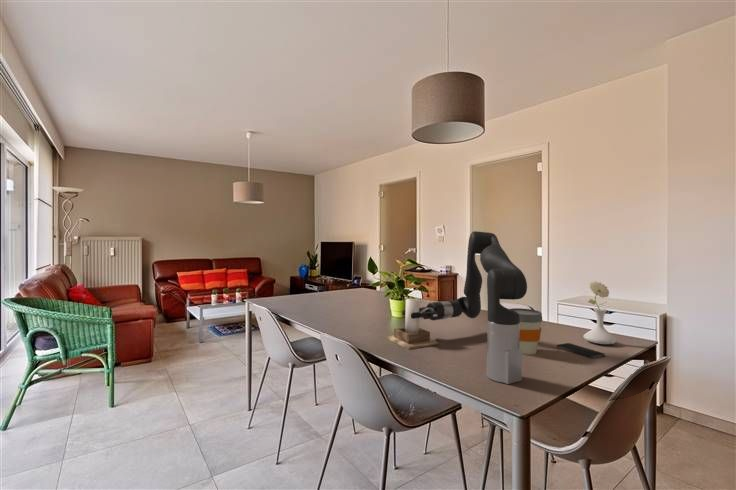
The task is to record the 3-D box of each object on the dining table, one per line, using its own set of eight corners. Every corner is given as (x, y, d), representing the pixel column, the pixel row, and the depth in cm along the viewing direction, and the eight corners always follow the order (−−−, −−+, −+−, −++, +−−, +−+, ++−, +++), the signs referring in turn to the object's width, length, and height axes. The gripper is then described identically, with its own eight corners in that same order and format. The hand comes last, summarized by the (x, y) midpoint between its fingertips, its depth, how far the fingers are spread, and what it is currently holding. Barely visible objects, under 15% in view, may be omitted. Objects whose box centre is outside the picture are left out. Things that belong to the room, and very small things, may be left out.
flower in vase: (623, 347, 143) (624, 284, 142) (593, 346, 143) (595, 283, 143) (602, 337, 156) (603, 280, 155) (575, 337, 156) (576, 279, 156)
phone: (592, 356, 129) (555, 344, 142) (591, 359, 129) (555, 347, 142) (606, 354, 132) (569, 342, 146) (606, 357, 132) (569, 345, 146)
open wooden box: (437, 344, 144) (437, 333, 144) (408, 349, 138) (408, 337, 138) (414, 334, 159) (414, 324, 158) (387, 338, 152) (387, 327, 152)
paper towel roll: (421, 337, 147) (422, 300, 147) (410, 339, 144) (410, 301, 144) (413, 334, 152) (414, 298, 152) (402, 335, 149) (402, 299, 149)
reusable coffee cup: (545, 357, 130) (546, 315, 129) (508, 354, 132) (509, 314, 132) (536, 347, 142) (537, 309, 142) (503, 344, 144) (503, 307, 144)
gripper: (429, 299, 161) (397, 302, 153) (451, 304, 148) (417, 308, 140) (429, 316, 161) (397, 319, 153) (450, 322, 148) (417, 327, 140)
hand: (407, 314), depth 147 cm, fingers open, 6 cm apart
